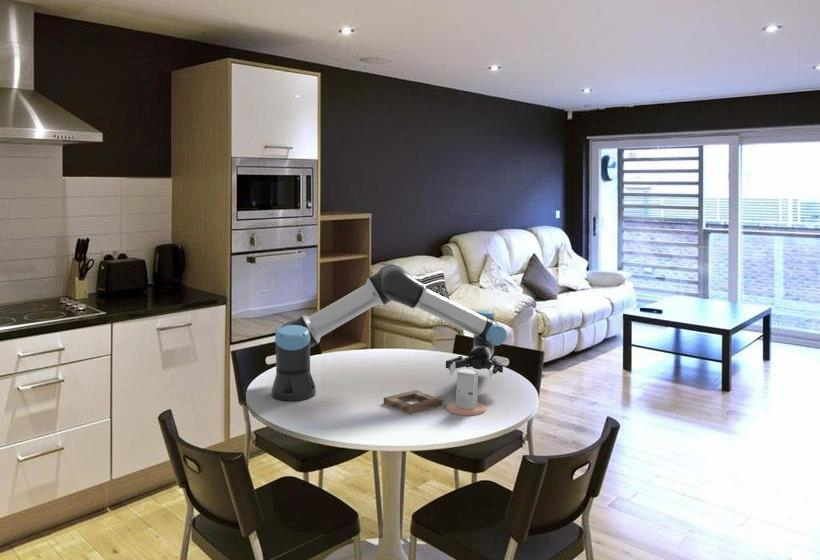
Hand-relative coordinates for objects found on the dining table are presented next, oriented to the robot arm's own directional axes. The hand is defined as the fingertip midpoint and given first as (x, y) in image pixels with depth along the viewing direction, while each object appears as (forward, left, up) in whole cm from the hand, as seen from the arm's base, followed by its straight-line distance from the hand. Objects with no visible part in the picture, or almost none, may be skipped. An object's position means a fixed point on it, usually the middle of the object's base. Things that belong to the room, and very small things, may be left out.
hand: (470, 372), depth 224 cm
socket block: (-8, -19, -10) cm, 22 cm away
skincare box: (+6, -7, -9) cm, 13 cm away
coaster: (+6, -8, -10) cm, 14 cm away
